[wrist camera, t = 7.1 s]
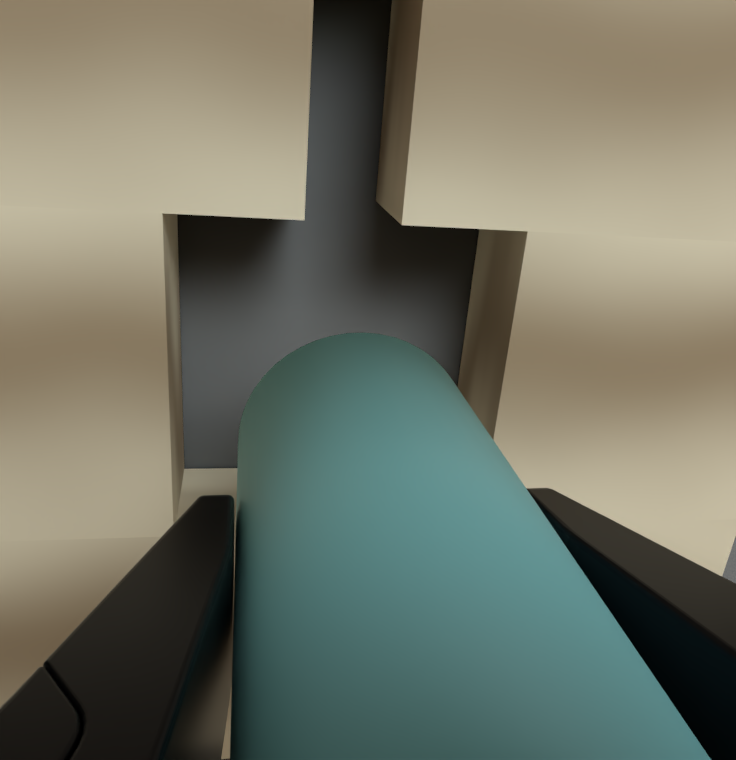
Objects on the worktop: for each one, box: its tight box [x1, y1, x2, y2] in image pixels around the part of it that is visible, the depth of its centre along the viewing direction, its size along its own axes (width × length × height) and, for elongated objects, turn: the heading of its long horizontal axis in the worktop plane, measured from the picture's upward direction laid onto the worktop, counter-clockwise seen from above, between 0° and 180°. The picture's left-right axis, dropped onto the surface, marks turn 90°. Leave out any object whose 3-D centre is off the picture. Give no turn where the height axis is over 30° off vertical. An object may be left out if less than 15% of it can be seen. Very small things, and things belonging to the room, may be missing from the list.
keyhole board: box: [0, 0, 736, 759], centre depth 14 cm, size 18×18×2 cm
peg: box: [230, 333, 711, 760], centre depth 7 cm, size 5×5×9 cm
